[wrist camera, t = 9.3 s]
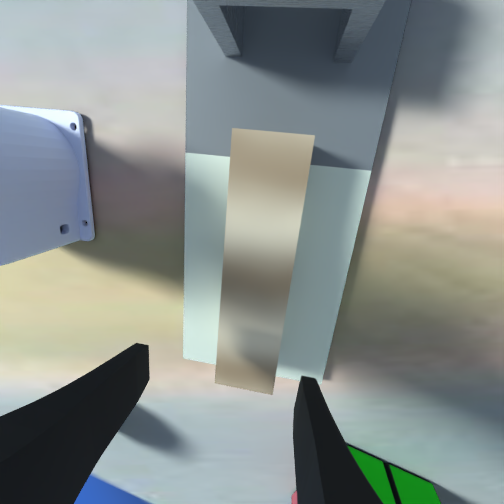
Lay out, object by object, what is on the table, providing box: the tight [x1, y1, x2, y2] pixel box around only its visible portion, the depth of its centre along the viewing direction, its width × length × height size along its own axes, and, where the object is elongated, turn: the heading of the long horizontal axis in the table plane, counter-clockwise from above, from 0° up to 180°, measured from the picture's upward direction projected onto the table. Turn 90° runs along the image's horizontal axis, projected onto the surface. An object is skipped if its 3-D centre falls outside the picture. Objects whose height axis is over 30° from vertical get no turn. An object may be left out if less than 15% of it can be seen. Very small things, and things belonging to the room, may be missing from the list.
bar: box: [215, 128, 315, 395], centre depth 17 cm, size 16×4×4 cm, turn 174°
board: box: [183, 0, 412, 385], centre depth 17 cm, size 34×12×1 cm, turn 174°
